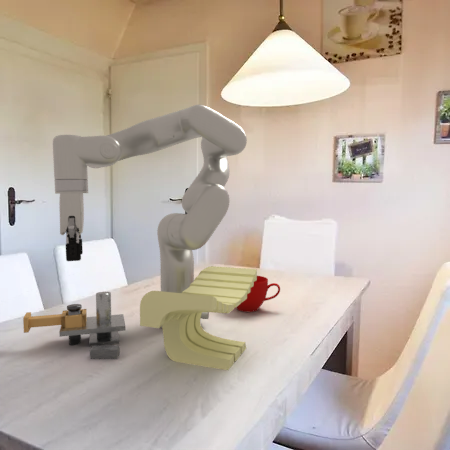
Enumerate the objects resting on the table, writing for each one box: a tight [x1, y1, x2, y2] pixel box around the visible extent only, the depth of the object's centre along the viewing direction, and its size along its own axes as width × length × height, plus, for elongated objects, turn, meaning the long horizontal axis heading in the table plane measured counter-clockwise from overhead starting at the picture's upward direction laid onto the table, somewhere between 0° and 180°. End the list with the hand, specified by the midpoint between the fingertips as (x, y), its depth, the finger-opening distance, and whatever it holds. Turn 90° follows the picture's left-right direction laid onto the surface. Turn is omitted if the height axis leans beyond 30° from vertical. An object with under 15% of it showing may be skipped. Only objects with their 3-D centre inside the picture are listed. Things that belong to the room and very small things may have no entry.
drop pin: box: [66, 303, 83, 346], centre depth 99 cm, size 3×3×9 cm
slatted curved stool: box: [139, 265, 258, 371], centre depth 92 cm, size 30×16×18 cm, turn 160°
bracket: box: [22, 308, 88, 334], centre depth 97 cm, size 14×6×4 cm, turn 108°
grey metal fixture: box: [58, 291, 126, 347], centre depth 100 cm, size 15×10×12 cm, turn 108°
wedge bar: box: [89, 344, 121, 360], centre depth 90 cm, size 6×3×2 cm, turn 92°
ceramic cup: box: [236, 275, 281, 313], centre depth 129 cm, size 13×17×10 cm
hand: (74, 257), depth 98 cm, fingers open, 9 cm apart
